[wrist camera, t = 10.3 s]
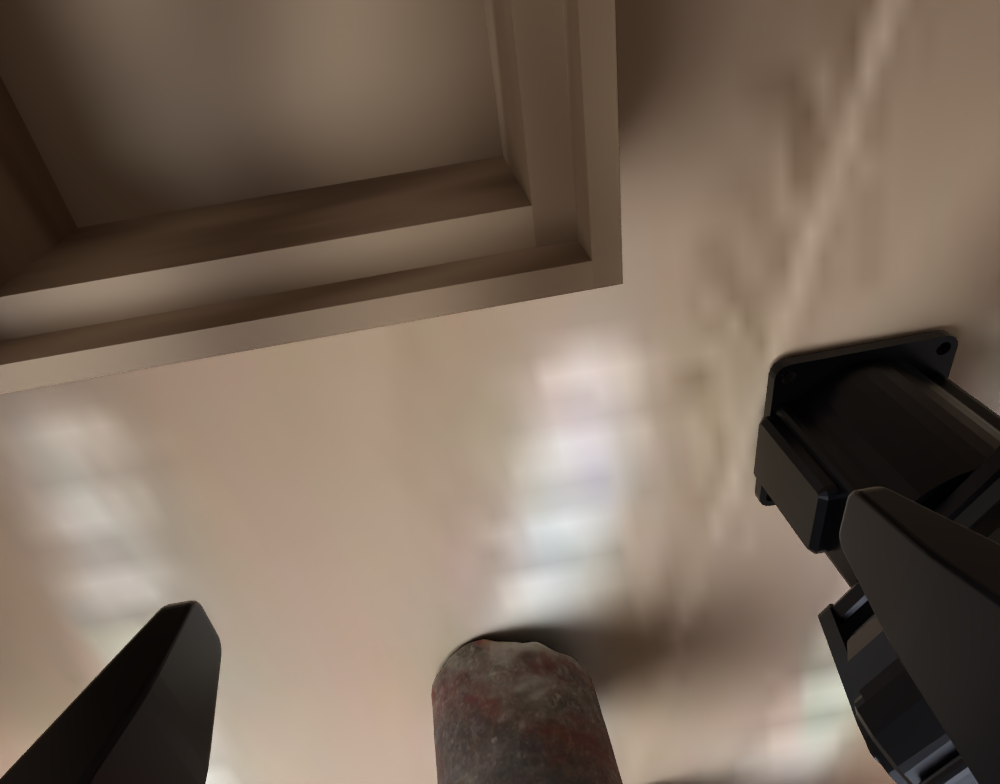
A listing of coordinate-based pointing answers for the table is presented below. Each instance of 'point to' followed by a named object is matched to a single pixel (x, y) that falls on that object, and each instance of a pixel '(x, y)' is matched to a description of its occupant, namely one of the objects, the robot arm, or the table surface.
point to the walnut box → (292, 171)
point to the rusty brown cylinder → (518, 718)
